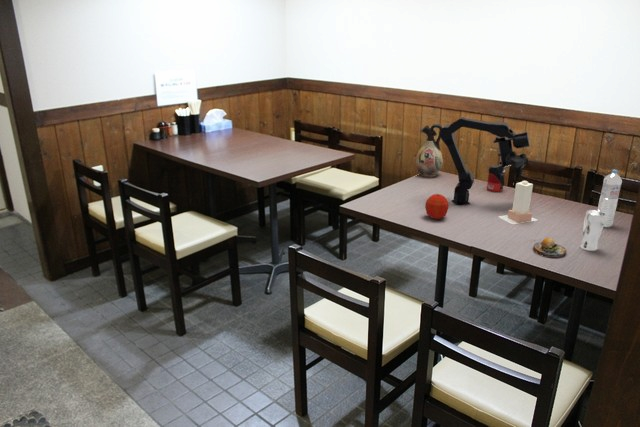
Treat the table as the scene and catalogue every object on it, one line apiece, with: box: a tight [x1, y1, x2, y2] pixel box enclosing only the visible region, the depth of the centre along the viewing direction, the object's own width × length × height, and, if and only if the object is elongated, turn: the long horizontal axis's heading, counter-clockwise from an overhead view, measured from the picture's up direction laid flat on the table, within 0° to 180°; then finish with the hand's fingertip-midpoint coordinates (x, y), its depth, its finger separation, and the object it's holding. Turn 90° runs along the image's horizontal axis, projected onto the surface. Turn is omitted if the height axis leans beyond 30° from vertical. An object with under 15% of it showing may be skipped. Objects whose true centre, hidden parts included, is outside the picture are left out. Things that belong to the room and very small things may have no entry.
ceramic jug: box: [414, 123, 444, 178], centre depth 289 cm, size 17×15×30 cm
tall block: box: [511, 180, 534, 215], centre depth 224 cm, size 5×5×14 cm
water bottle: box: [597, 169, 623, 229], centre depth 220 cm, size 7×7×25 cm
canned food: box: [486, 169, 506, 193], centre depth 267 cm, size 8×8×11 cm
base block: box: [507, 209, 533, 224], centre depth 227 cm, size 7×7×4 cm
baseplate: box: [497, 214, 538, 225], centre depth 229 cm, size 14×10×1 cm
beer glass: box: [579, 209, 606, 252], centre depth 200 cm, size 7×7×15 cm
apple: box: [424, 193, 450, 220], centre depth 231 cm, size 10×10×12 cm
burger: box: [532, 237, 567, 259], centre depth 199 cm, size 12×12×8 cm
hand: (511, 182), depth 239 cm, fingers open, 9 cm apart
